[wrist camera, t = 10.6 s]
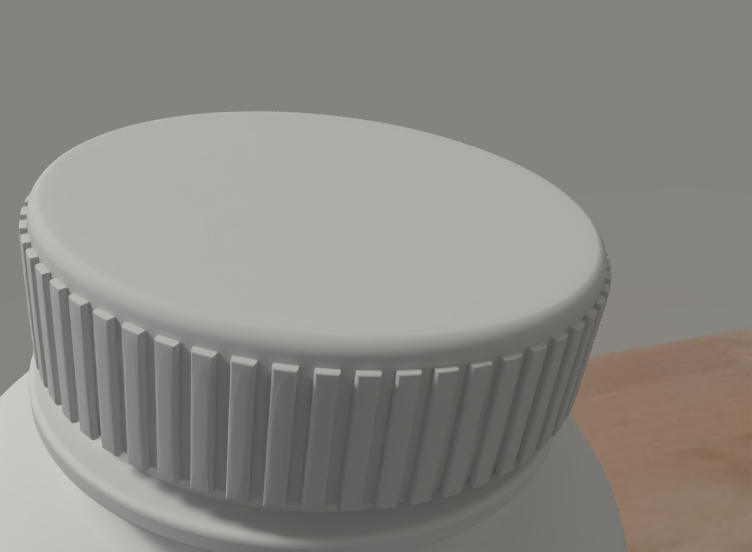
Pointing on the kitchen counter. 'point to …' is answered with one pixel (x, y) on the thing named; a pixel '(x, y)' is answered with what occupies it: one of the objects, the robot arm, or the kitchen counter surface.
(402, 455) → the pill bottle
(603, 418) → the kitchen counter surface
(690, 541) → the kitchen counter surface
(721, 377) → the kitchen counter surface
